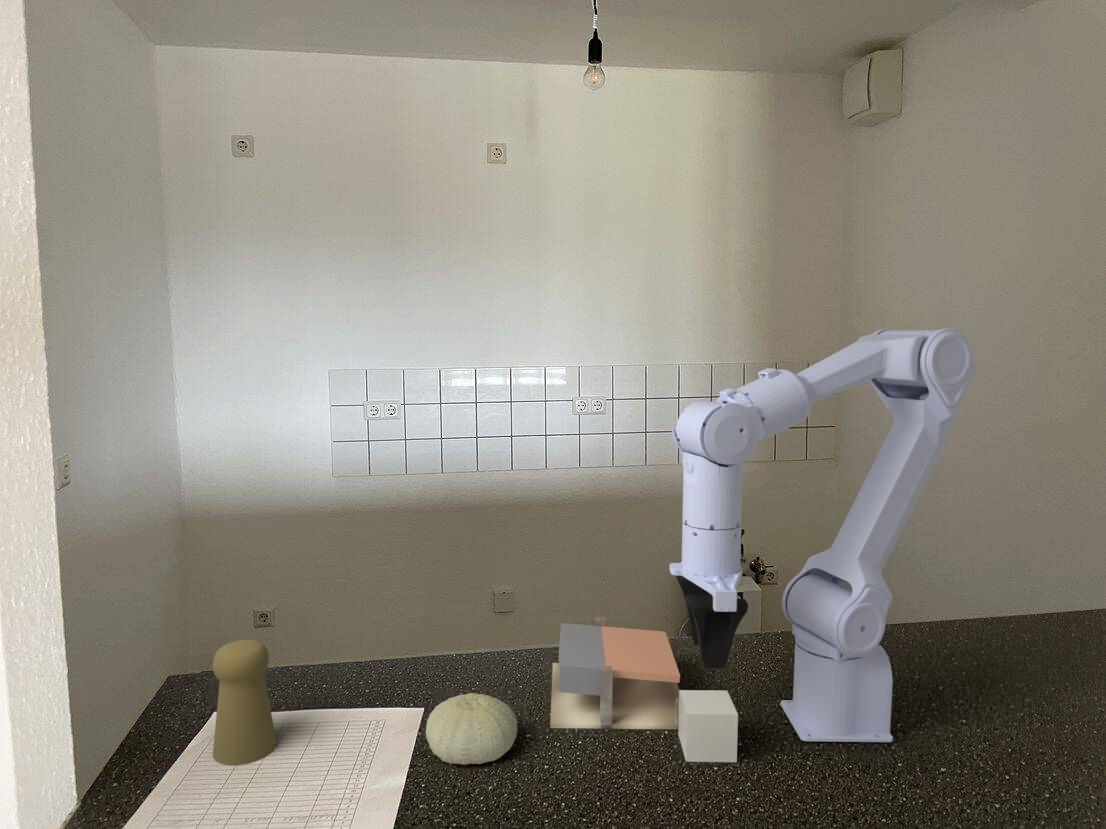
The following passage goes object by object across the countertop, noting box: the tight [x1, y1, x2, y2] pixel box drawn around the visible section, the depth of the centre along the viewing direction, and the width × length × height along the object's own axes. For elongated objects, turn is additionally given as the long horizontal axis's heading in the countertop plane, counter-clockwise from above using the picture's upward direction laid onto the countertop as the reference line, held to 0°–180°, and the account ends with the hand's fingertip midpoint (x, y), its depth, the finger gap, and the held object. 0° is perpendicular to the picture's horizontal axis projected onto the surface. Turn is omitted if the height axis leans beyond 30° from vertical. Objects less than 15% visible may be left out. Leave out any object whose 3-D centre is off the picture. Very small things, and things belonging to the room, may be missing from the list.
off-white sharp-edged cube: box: [677, 689, 739, 763], centre depth 76 cm, size 5×5×5 cm
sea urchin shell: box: [425, 692, 519, 766], centre depth 76 cm, size 9×8×8 cm
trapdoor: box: [558, 622, 681, 696], centre depth 87 cm, size 13×12×3 cm
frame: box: [549, 616, 680, 730], centre depth 87 cm, size 15×15×6 cm
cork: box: [212, 639, 277, 766], centre depth 75 cm, size 6×6×11 cm
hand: (708, 655), depth 75 cm, fingers open, 5 cm apart
